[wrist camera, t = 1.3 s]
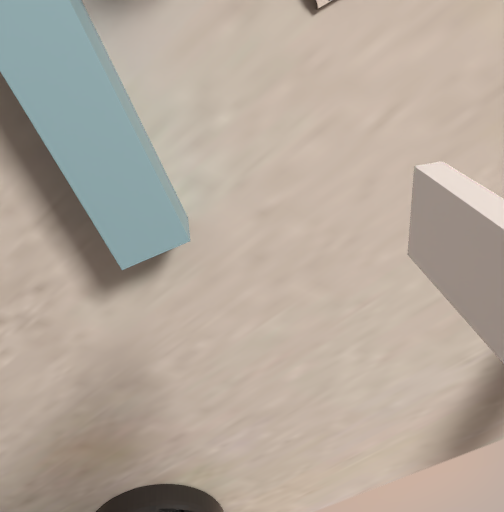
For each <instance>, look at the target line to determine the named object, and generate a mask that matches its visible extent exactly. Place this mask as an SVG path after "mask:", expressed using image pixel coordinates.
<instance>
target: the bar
mask: <svg viewBox="0 0 504 512" xmlns="http://www.w3.org/2000/svg"><path fill="white" fill-rule="evenodd" d="M0 72H1V73H2V75H3V77H4V78H5V80H6V81H7V83H8V85H9V86H10V88H11V90H12V91H13V93H14V95H15V96H16V98H17V99H18V101H19V103H20V104H21V106H22V108H23V109H24V111H25V113H26V114H27V116H28V117H29V119H30V121H31V122H32V124H33V126H34V127H35V129H36V130H37V132H38V134H39V135H40V137H41V139H42V140H43V142H44V144H45V145H46V147H47V148H48V150H49V152H50V153H51V155H52V157H53V158H54V160H55V162H56V163H57V165H58V166H59V168H60V170H61V171H62V173H63V175H64V176H65V178H66V179H67V181H68V183H69V184H70V186H71V188H72V189H73V191H74V193H75V194H76V196H77V197H78V199H79V201H80V202H81V204H82V206H83V207H84V209H85V211H86V212H87V214H88V215H89V217H90V219H91V220H92V222H93V224H94V225H95V227H96V228H97V230H98V232H99V233H100V235H101V237H102V238H103V240H104V242H105V243H106V245H107V246H108V248H109V250H110V251H111V253H112V255H113V256H114V258H115V260H116V261H117V263H118V264H119V266H120V268H121V269H122V270H124V269H126V268H128V267H131V266H133V265H135V264H138V263H140V262H142V261H145V260H147V259H149V258H152V257H154V256H156V255H159V254H161V253H164V252H166V251H168V250H171V249H173V248H175V247H178V246H180V245H182V244H185V243H187V242H189V241H190V233H189V224H188V217H187V215H186V213H185V211H184V209H183V207H182V205H181V203H180V200H179V198H178V196H177V194H176V192H175V190H174V188H173V186H172V184H171V182H170V180H169V178H168V176H167V174H166V172H165V170H164V168H163V166H162V164H161V162H160V160H159V158H158V156H157V154H156V152H155V149H154V147H153V145H152V143H151V141H150V139H149V137H148V135H147V133H146V131H145V129H144V127H143V125H142V123H141V121H140V119H139V117H138V115H137V113H136V111H135V109H134V107H133V105H132V103H131V100H130V98H129V96H128V94H127V92H126V90H125V88H124V86H123V84H122V82H121V80H120V78H119V76H118V74H117V72H116V70H115V68H114V66H113V64H112V62H111V60H110V58H109V56H108V54H107V52H106V49H105V47H104V45H103V43H102V41H101V39H100V37H99V35H98V33H97V31H96V29H95V27H94V25H93V23H92V21H91V19H90V17H89V15H88V13H87V11H86V9H85V7H84V5H83V3H82V0H0Z"/></svg>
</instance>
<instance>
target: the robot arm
mask: <svg viewBox="0 0 504 512" xmlns="http://www.w3.org/2000/svg"><path fill="white" fill-rule="evenodd" d="M408 256H409V257H410V258H411V259H412V260H413V261H414V262H415V264H416V265H417V266H418V267H419V268H420V269H421V270H422V272H423V273H424V274H425V275H426V276H427V277H428V278H429V280H430V281H431V282H432V283H433V284H434V285H435V286H436V287H437V289H438V290H439V291H440V292H441V293H442V294H443V295H444V297H445V298H446V299H447V300H448V301H449V302H450V303H451V305H452V306H453V307H454V308H455V309H456V310H457V311H458V312H459V314H460V315H461V316H462V317H463V318H464V319H465V320H466V322H467V323H468V324H469V325H470V326H471V327H472V328H473V330H474V331H475V332H476V333H477V334H478V335H479V336H480V338H481V339H482V340H483V341H484V342H485V343H486V344H487V345H488V347H489V348H490V349H491V350H492V351H493V352H494V353H495V355H496V356H497V357H498V358H499V359H500V360H501V361H502V363H503V364H504V199H503V198H502V197H500V196H498V195H497V194H495V193H493V192H492V191H490V190H488V189H487V188H485V187H484V186H482V185H480V184H479V183H477V182H475V181H474V180H472V179H470V178H469V177H467V176H466V175H464V174H462V173H461V172H459V171H457V170H456V169H454V168H452V167H451V166H449V165H448V164H446V163H444V162H443V161H441V162H435V163H429V164H423V165H417V166H414V176H413V189H412V203H411V216H410V229H409V243H408ZM97 512H223V509H222V507H221V506H220V504H219V503H218V502H217V501H216V500H215V499H214V498H213V497H211V496H210V495H208V494H207V493H205V492H203V491H201V490H198V489H195V488H192V487H188V486H182V485H173V484H162V485H152V486H146V487H141V488H137V489H134V490H131V491H128V492H126V493H123V494H121V495H119V496H117V497H115V498H113V499H112V500H110V501H109V502H107V503H106V504H105V505H103V506H102V507H101V508H100V509H99V510H98V511H97Z"/></svg>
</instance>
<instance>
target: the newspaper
mask: <svg viewBox="0 0 504 512" xmlns="http://www.w3.org/2000/svg"><path fill="white" fill-rule="evenodd" d="M316 1H317V5H318V8H320V7H322V6H323V5H325V4H327V3H328V2H330V1H332V0H316ZM318 8H317V9H318ZM317 9H316V10H317Z"/></svg>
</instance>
